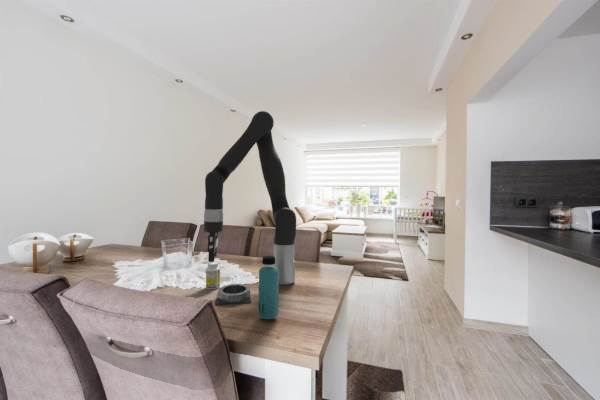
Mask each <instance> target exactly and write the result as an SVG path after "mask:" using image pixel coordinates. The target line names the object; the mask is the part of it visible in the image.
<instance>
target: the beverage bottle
mask: <svg viewBox="0 0 600 400" xmlns="http://www.w3.org/2000/svg"><path fill="white" fill-rule="evenodd" d="M261 264H262V265H263V266H262V267H261V268H259V270H258V300H257V301H258V304H257V305H258V306H257V307H258V308H257V309H258V310H257V312H258V316H259V317H260V318H261V319H265V320H273V319H275V318H277V317H278V315H279V311H280V310H279V309H280V305H279V284H278V275H279V270H278V269H277V268H276V267H275V266H273V264H275V256H274V255H264V256H262V261H261Z"/></svg>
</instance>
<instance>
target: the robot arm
mask: <svg viewBox="0 0 600 400" xmlns="http://www.w3.org/2000/svg"><path fill="white" fill-rule="evenodd" d="M273 128H274V118H273V116H272V115H271V113H269V112H268V111H265V110H261V111H258V112H256V113H255V114H253V116H252V117H251V121H250V123H249V125H248V126H247V127H246V129H245V130H244V132H243V133H242V134H241V136H240V137H239V138H238V139H237V140H236V142H235V143H234V144H233V145H232V146H231V147H230V148H229V149H228V150H227V152H225V154H223V156H222V157H221V159H220V160H219V162H218V164H217V165H216V166H215V167H213V169H212V170H211V171H210V172H208V173H206V175H205V178H204V187H205V188H204V189H205V190H204V192H205V198H204V211H203V212H204V213H203V232H205V233H209V234H208V236H207V251H206V252H207V253H208V257H207V258H208V260H207V262H208V263H210V262H215V257H217V255H218V254H217V253H218V252H217V251H218V245H219V235H218V234H219V233H221V232H223V231H224V209H223V208H224V198H223V193H224V192H223V191H224V183H225V182H226V181H227V179H228V178H229V177H230V175H231V174H232V173H233V172H234V171H235V170H236V169H237V168H238V167H239V166H240V165H241V163H242V162H243V161H244V159H245V158H246V157H247V155H248V154H249V152H250V151H251V149H252V148H253V147H254V146H255V145H256V146H257V150H258V156H259V162H260V167H261V172H262V176H263V180H264V183H265V187H266V190H267V193H268V196H269V198H270V204H271V210H272V219H273V223H274V228H275V229H274V237H273V256H275V264H272V266H275V267H276V268H277V269H278V270H279V275H278V286H279V285H281V286H284V285H291V284H295V282H296V261H295V240H296V235H297V216H296V213H295V212H294V210H292V209H291V208H290V205H289V202H288V199H287V194H286V177H285V172H284V167H283V164H282V160H281V158H280V157H279V154H278V152H277V150H276V148H275V144H274V141H273V133H272V130H273Z"/></svg>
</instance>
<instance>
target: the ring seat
mask: <svg viewBox="0 0 600 400" xmlns="http://www.w3.org/2000/svg"><path fill="white" fill-rule="evenodd" d="M251 297H252V296H251V287H250V286H249V285H247V284H243V283H230V284H227V285H226V284H225V285H223V286H221V287H219V288H218V291H217V299H216V303H215V306H227V305H228V306H229V305H230V306H231V305H240V304H242V305H243V304H251V303H252V298H251Z"/></svg>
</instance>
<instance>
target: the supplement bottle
mask: <svg viewBox="0 0 600 400" xmlns="http://www.w3.org/2000/svg"><path fill="white" fill-rule="evenodd" d="M207 263H208V264H207V267H206V268H205V288H206V289H207V290H216V289H219V288H221V287H220V286H221V268H220V266H219V263H218V261H214V262H207Z"/></svg>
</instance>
